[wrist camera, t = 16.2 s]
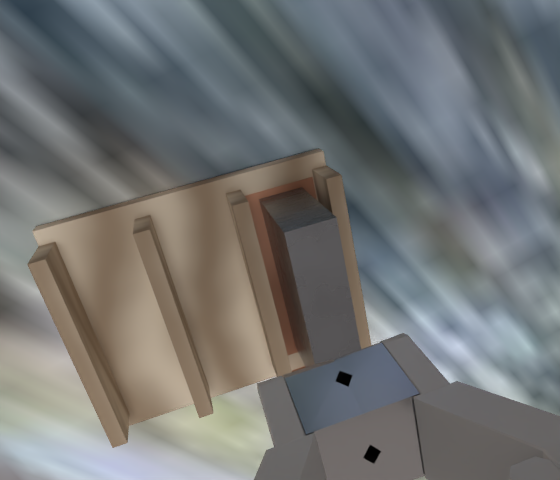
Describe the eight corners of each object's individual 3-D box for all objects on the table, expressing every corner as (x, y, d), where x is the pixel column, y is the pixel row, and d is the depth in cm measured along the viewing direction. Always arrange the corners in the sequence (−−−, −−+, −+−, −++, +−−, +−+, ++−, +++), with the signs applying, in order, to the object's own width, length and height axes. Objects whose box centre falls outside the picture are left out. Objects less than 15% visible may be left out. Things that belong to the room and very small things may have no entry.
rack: (318, 148, 34) (338, 159, 30) (357, 350, 40) (377, 380, 36) (35, 226, 31) (19, 248, 27) (125, 429, 38) (122, 469, 34)
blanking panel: (301, 187, 33) (336, 217, 27) (332, 334, 38) (368, 390, 31) (258, 199, 33) (284, 232, 26) (295, 346, 37) (324, 405, 31)
